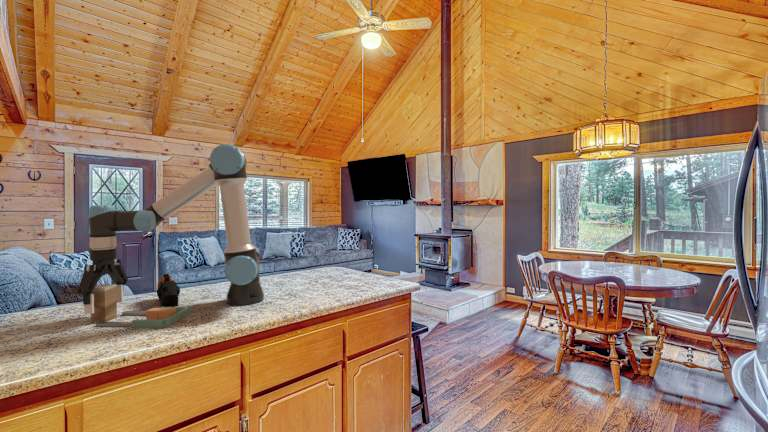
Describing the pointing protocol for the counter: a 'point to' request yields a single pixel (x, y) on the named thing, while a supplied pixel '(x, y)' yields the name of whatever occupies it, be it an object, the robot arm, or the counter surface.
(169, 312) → the orange cube piece
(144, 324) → the green u-shaped frame
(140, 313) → the slot rails
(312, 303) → the counter surface
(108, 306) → the light brown tall block
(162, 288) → the tool
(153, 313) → the orange cubic piece
